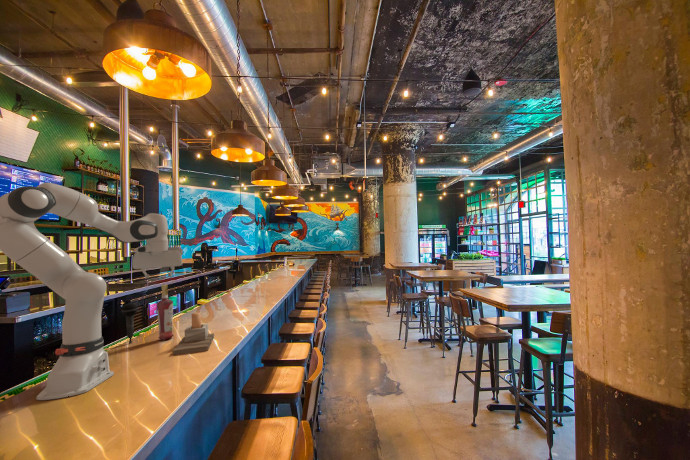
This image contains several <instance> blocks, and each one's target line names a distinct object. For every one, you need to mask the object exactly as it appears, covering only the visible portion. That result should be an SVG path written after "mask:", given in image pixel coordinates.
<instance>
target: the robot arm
mask: <svg viewBox="0 0 690 460" xmlns="http://www.w3.org/2000/svg"><path fill="white" fill-rule="evenodd" d="M47 214H54V215H56V216H58V217H60V218H64V219H66V220H69V221H73V222H76V223H81V224H84V225H87V226H90V227H92V228H95V229H98V230H99V231H102V232H105V233H107V234H108V235H110V236H111V237H113V238H114V239H115V240H116V241H118V242H119V243H122V244H130V243H134V242H135V243H136V242H141V241H142V242H144V241H146V244H144V245H141V246H138V247H136V248H135V249H134V252H135V254H134V255H133V257H132V266H131V267H132V269H134V270H141V272H142V273H143V275H144V279H150V274H148V273H147V272H146V271H147V269H156V268H170V272H167V275H168V277H173V272H174V270H175V269H176V268H175V267H181V266H183V265H184V264H183V257H182V256H183V253H184V252H183V251H184V250H183V249H182V247H179V246H175V247H174V246H169V238H168V233H169V227H168V225H169V224H168V220H167V217H166V216H165V215H164V214H162V213H158V212H157V213H156V212H151V213H148V214H146V215H145V216H142V217H141V218H140V217H139V218H137V219H134V220H133V219H132V220H128V221H127V220H126V221H124V220H123V221H120V220H116V219H114V218H111V217H109V216H107V215H105V214H103V213H101V212H100V211H99V204H98V202H97V201H96V200H95V199H93V198H92V197H90V196H89V195H87V194H84V193H82V192H80V191H79V190H76V189H72V188H70V187H68V186H64V185H60V184H57V183H53V182H42V183H40V184H38V185H37V186H30V185H29V186H21V187H18V188H17V187H16V188H14V189H13V190H11V191H9V192H7V193H5V194H3V195H1V196H0V251H1V252H2V253H3V254H4V255H5V256H6V257H8V259H10V260H11V261H13V262H14V263H15V264H17V265H18V266H20V268H22V269H24V270H25V271H27V272H28V273H30V274H31V275H32V276H34V277H35V278H36V279H38V280H39V281H40V282H41V283H43V284H44V285H46V286H47V288H49V289H50V290H52V292H54V293H55V294H57V295H58V296H60V298H62V299H63V300H65V302H64V303H65V305H64V311H63V312H64V313H63V317H62V318H63V319H62V321H61V328H62V331H61V332H62V334H61V335H62V343H61V345H60V348H56V349H55V351H54V352H55V355H56V356H59V357H58V359H57V361H56V363H55V364H54V365H53V367H52V369H51V370H50V371H49V374H48V376H47V377H46V386H45V388H43V390H42V391H41V392H39V393H38V395H36V398H35V399H36V400H37V401H47V400H48V401H49V400H56V399H62V398H67V397H68V396H69V397H73V396H76V395H77V396H78V395H80V394H84V393H87V392H89V391H90V390H92V389H94V388H95V387H97V386H99V385H100V384H101V383H103V382H104V381H106V380H108V379H109V378H110V377H112V376H114V375H115V374H114V373H115V372H114V371H112V370H110V364H109V363H110V361H109V354H108V352H107V351H106V350H105V349H104V337H103V336H102V313H103V306H104V300H105V293H106V291H107V287H108V286H107V281H106V280H105V279H104V278H103V277H102V276H101V275H99V274H97V273H94V272H89V271H85V270H84V269H83V268H82V267H81V266H80V265H79V264H78V263H77V262H76V261H75V260H73V258H72V257H71V256H70V255H69V254H68V253H67V252H66V251H64V250H63V249H62V248H61V247H59V246H58V245H57V244H55V242H53V241H51V240H50V238H48V237H46V236H45V235H44V234H42V232H40V231H39V230H38V229H37V227H36V225H35V222H36V221H38V220H39V219H40V218H42V217H43V216H45V215H47ZM69 397H68V398H69Z"/></svg>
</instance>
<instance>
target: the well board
mask: <svg viewBox="0 0 690 460" xmlns="http://www.w3.org/2000/svg"><path fill="white" fill-rule="evenodd" d="M214 339H215V333H214V332H213V333H212V332H211V333H209V324H208V323H203V324H202V323H201V328H195V329H192V325H187V326H186V328H185V329H184V336H183V337H182V338H181V340H180V341H179V342H178V344H177V345H176V346H175V347H174V349H173V350H172V356H178V355H185V354H193V353H199V352H200V353H201V352H207V351H209V349H210V347H211V345H212V343H213V341H214Z"/></svg>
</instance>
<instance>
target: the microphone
mask: <svg viewBox="0 0 690 460" xmlns="http://www.w3.org/2000/svg"><path fill="white" fill-rule="evenodd" d="M138 309H139V308H138V306H137V305H136V304H135V303H131V302H129V303H126V304H124V305H123V306H122V308H121V313H122V315H123V316H124V317H125V322H126V325H125V326H126V337H127V338H128V339H129V341H128V344H130V343H131V344H132V343H133V341H132V339H133V337H134V322H135V321H134V315H136V313H137V312H138Z"/></svg>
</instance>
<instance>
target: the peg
mask: <svg viewBox="0 0 690 460" xmlns="http://www.w3.org/2000/svg"><path fill="white" fill-rule="evenodd" d="M201 319H202V316H201V312H193V313H191V326H192V329H195V328H201V324H202V320H201Z"/></svg>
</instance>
